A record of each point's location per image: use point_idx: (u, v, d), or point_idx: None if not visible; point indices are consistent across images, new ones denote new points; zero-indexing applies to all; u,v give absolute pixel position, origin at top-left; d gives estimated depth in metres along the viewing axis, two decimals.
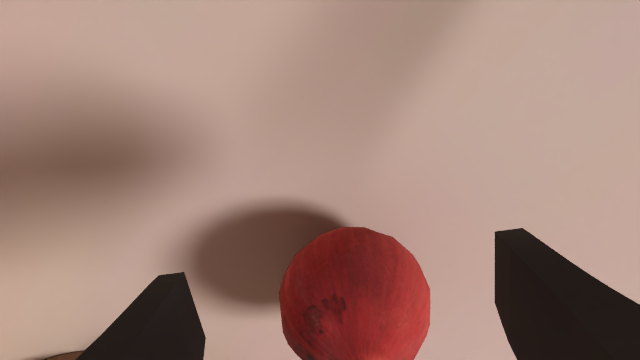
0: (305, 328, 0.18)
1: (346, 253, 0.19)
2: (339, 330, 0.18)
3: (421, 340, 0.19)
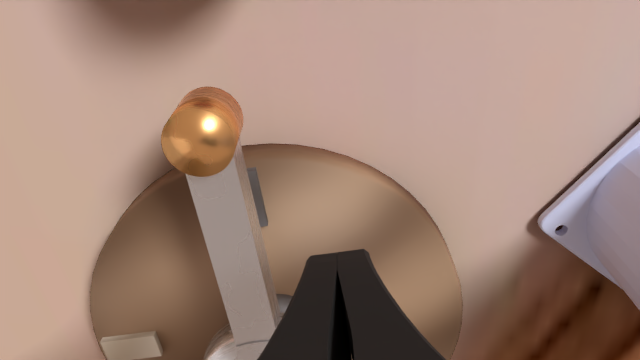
0: None
1: None
2: None
3: None
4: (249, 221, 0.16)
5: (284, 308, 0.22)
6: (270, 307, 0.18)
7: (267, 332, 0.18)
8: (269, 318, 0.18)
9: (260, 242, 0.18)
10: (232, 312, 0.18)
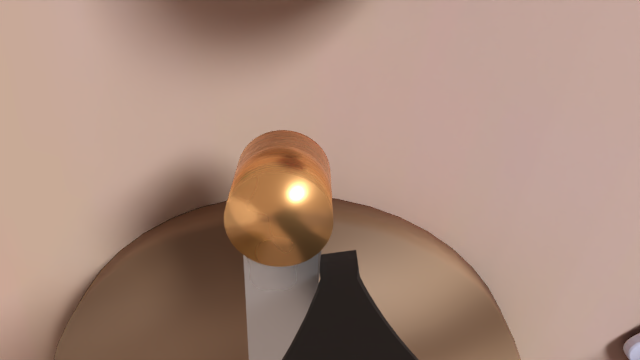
0: None
1: None
2: None
3: None
4: None
5: None
6: None
7: None
8: None
9: None
10: None
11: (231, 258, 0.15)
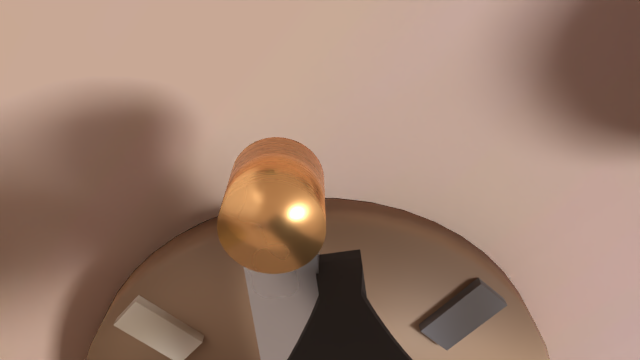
0: None
1: None
2: None
3: None
4: None
5: None
6: None
7: None
8: None
9: None
10: None
11: (421, 275, 0.16)
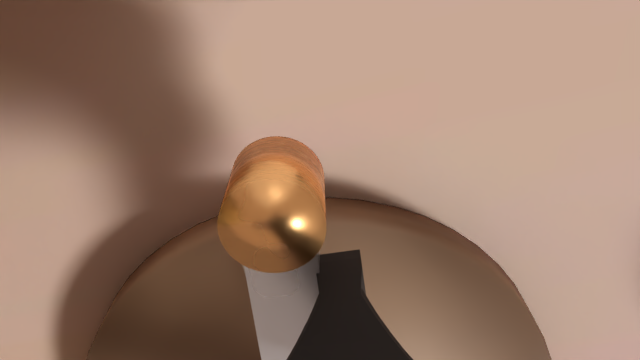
0: None
1: None
2: None
3: None
4: None
5: None
6: None
7: None
8: None
9: None
10: None
11: (509, 346, 0.17)
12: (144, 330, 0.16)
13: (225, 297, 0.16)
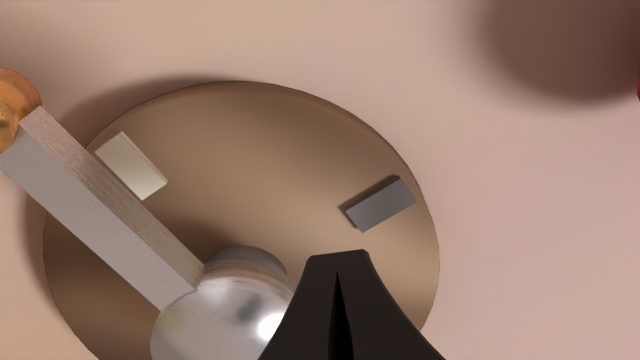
0: None
1: None
2: None
3: None
4: (82, 182, 0.15)
5: None
6: (164, 259, 0.17)
7: (179, 286, 0.17)
8: (170, 271, 0.17)
9: (123, 200, 0.17)
10: (133, 279, 0.17)
11: (355, 163, 0.19)
12: (73, 244, 0.21)
13: None
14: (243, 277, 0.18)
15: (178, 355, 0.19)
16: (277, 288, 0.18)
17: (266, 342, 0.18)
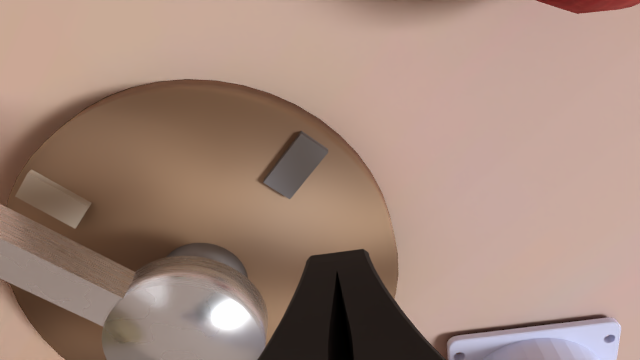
0: None
1: None
2: None
3: None
4: None
5: None
6: (80, 276, 0.17)
7: (105, 297, 0.18)
8: (90, 285, 0.17)
9: (29, 231, 0.17)
10: (63, 302, 0.18)
11: (253, 132, 0.19)
12: None
13: None
14: (165, 273, 0.18)
15: None
16: (202, 275, 0.18)
17: (210, 330, 0.18)
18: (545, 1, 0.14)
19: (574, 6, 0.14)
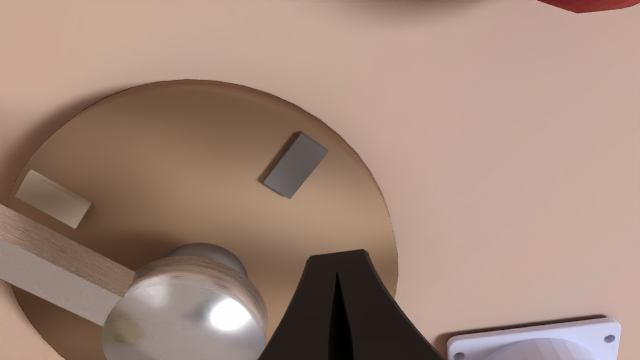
0: None
1: None
2: None
3: None
4: None
5: None
6: (80, 276, 0.17)
7: (105, 297, 0.18)
8: (90, 285, 0.17)
9: (29, 231, 0.17)
10: (63, 302, 0.18)
11: (253, 132, 0.19)
12: None
13: None
14: (165, 273, 0.18)
15: None
16: (202, 275, 0.18)
17: (210, 330, 0.18)
18: (545, 1, 0.14)
19: (574, 6, 0.14)
